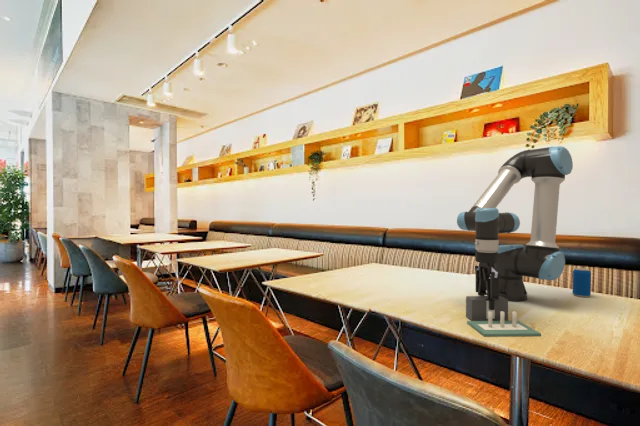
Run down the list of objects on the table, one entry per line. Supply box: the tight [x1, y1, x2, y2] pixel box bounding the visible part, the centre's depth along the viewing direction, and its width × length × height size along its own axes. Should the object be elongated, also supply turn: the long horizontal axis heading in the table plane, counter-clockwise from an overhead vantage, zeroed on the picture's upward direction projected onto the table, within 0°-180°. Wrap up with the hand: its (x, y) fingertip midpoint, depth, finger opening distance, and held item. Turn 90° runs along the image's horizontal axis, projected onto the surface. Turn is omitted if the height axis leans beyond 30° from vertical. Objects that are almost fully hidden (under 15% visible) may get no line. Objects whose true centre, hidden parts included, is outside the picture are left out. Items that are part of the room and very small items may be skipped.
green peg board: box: [466, 310, 542, 337], centre depth 116 cm, size 18×12×6 cm, turn 91°
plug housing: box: [465, 295, 509, 321], centre depth 126 cm, size 13×5×7 cm, turn 91°
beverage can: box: [572, 267, 592, 298], centre depth 158 cm, size 6×6×12 cm
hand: (486, 315), depth 127 cm, fingers closed on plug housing, 5 cm apart
